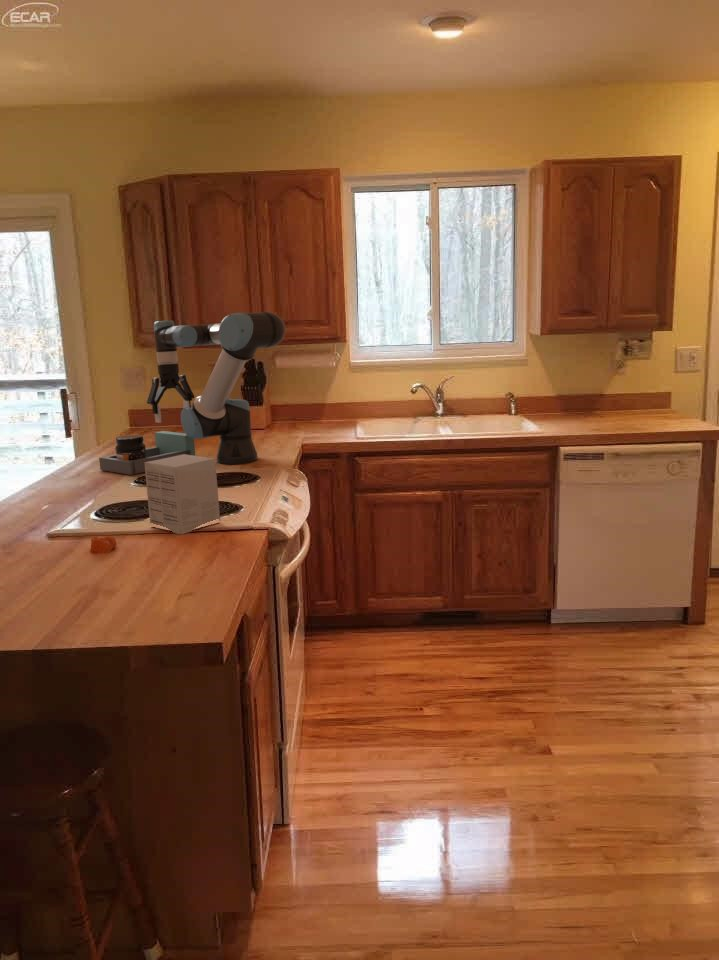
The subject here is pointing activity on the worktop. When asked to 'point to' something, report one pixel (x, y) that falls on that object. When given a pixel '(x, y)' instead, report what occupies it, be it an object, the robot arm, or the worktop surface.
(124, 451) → the supplement container
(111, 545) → the rock
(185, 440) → the gray open tray
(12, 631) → the worktop surface
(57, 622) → the worktop surface
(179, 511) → the supplement box
